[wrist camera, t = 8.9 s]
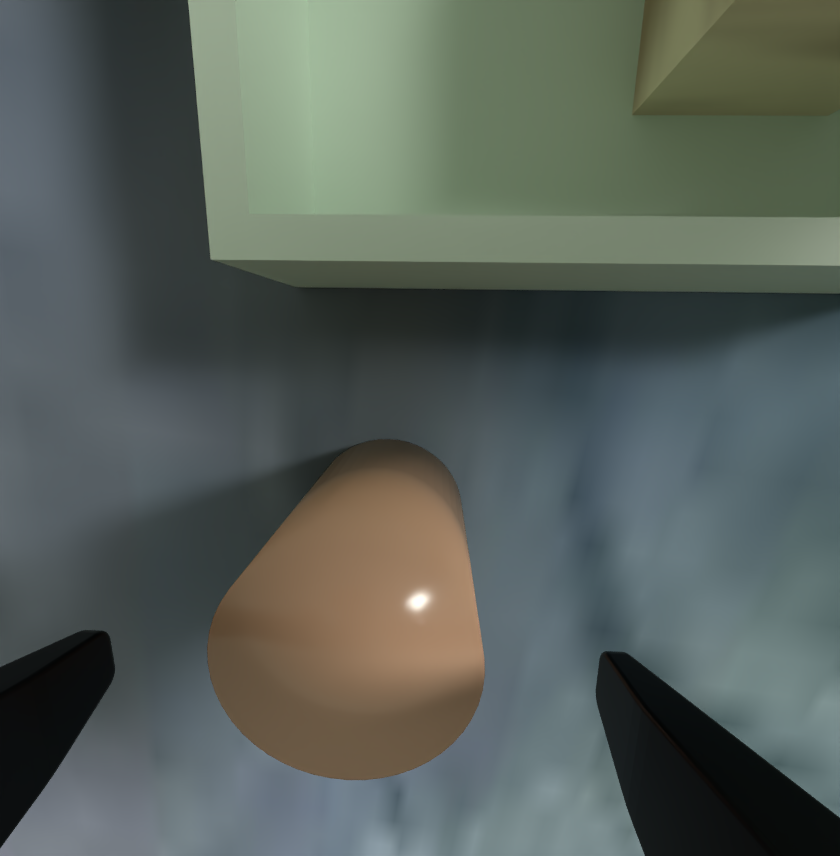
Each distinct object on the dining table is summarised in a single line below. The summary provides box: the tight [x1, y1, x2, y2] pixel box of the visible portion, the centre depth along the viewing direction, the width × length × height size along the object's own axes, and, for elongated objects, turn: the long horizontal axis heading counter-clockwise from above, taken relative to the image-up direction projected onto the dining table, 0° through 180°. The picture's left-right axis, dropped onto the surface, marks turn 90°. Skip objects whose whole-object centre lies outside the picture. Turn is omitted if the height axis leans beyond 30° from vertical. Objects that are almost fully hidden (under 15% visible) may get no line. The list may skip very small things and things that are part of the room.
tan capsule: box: [207, 439, 485, 780], centre depth 11 cm, size 5×5×7 cm
